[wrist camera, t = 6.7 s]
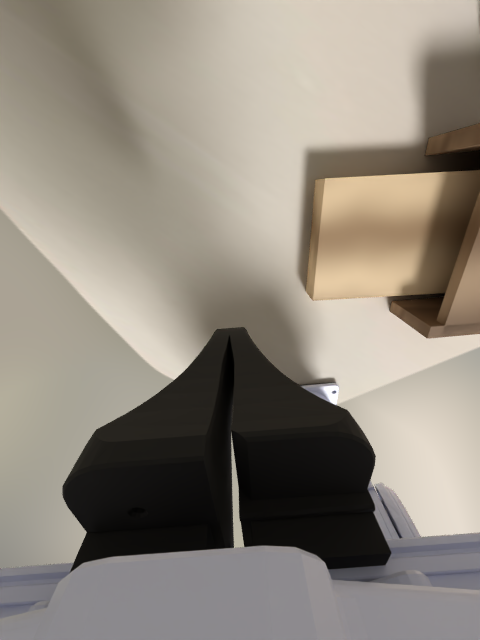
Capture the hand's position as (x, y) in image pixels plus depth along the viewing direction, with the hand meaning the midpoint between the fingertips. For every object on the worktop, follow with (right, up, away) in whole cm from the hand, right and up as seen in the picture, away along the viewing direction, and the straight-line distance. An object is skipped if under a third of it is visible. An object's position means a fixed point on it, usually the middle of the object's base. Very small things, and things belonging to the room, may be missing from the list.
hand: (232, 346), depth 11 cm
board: (+12, +8, +8) cm, 17 cm away
